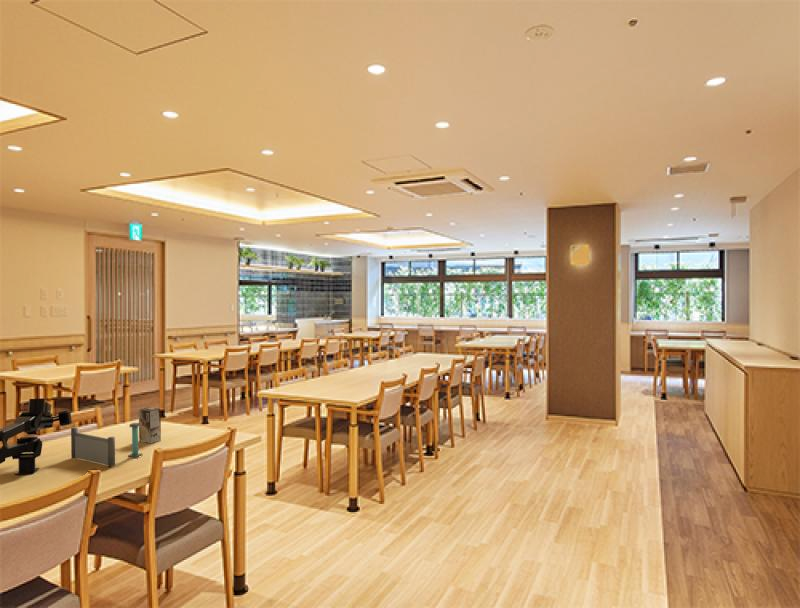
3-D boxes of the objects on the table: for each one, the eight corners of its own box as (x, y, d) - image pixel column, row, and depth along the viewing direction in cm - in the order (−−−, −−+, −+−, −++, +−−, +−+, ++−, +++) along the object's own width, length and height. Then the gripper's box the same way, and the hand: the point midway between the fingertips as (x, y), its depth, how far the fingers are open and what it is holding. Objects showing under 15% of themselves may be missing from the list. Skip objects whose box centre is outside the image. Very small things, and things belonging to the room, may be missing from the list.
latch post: (127, 457, 239) (127, 424, 239) (131, 455, 242) (131, 422, 242) (138, 457, 239) (138, 424, 238) (142, 455, 242) (142, 422, 242)
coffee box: (161, 440, 267) (161, 408, 267) (150, 443, 261) (150, 411, 261) (149, 438, 271) (149, 406, 271) (138, 441, 266) (137, 409, 265)
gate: (70, 457, 238) (69, 428, 237) (75, 455, 240) (75, 427, 240) (110, 466, 224) (110, 436, 224) (116, 465, 227) (116, 434, 227)
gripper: (60, 399, 231) (76, 399, 246) (13, 408, 228) (32, 407, 243) (63, 424, 229) (79, 423, 245) (16, 434, 226) (35, 432, 241)
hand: (56, 420), depth 244 cm, fingers open, 9 cm apart
